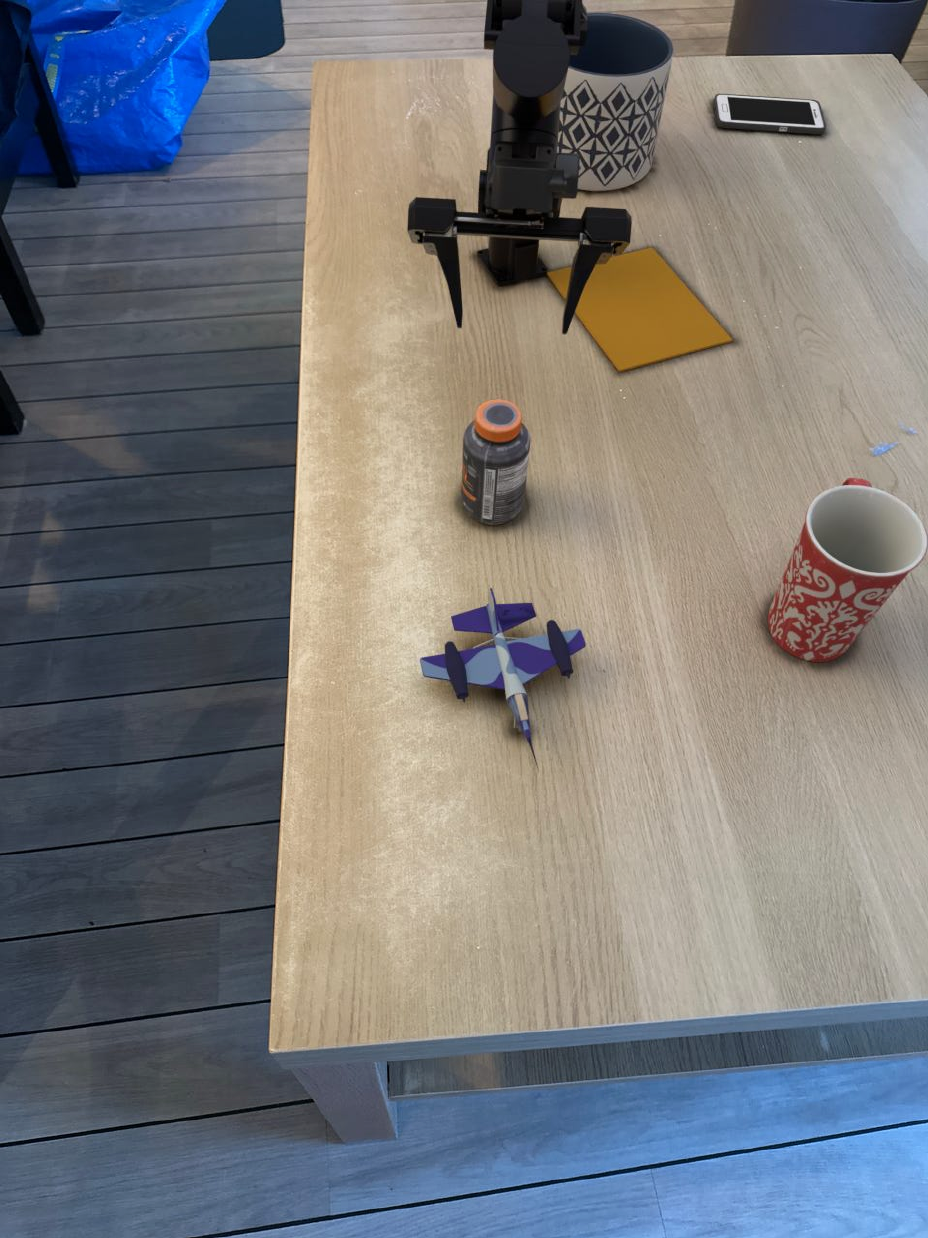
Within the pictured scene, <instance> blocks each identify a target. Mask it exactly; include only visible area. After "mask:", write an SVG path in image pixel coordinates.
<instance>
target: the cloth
mask: <svg viewBox="0 0 928 1238" xmlns="http://www.w3.org/2000/svg"><path fill="white" fill-rule="evenodd" d="M571 269H572V266H568V267H564V268H560V269H556V270H552V271H548V273H547V274H546V275H545V276H546V277H547V278H548V280H550V282H551V283H552V284H553V286H554V288H556V291H558V292H559V294H560V295H561V297H562V298H563V299H564V301H566V296H567V291H568V285H569V280H570V275H571ZM574 315H576V316H577V318H578V320H579V321H580V322H581V323H582V325H583V326H584V327H585V329H586V331H588V332H589V334H590V335H591V337H592V338H593V340H594V341H595V342H596V343H597V345H598V346H599V347H600V349H601V350H602V351H603V353H604V354H605V355H606V357H607V358H608V359H609V361H610V362H611V363H612V364H613V366H614V367H615V369H616V370H617V371H618V372H619V373H622V372H625V371H629V370H632V369H636V368H639V367H644V366H647V365H652V364H656V363H658V362H662V361H666V360H669V359H673V358H676V357H681V356H685V355H688V354H692V353H695V352H699V351H703V350H706V349H709V348H714V347H717V346H720V345H724V344H728V343H731V342H733V338H732V337H731V336H730V335H729V333H728V332H727V331H726V330H725V329H724V328H723V326H721V324H720V323H719V322H718V321H717V320H716V319H715V317H714V316H713V315H712V314H711V313H710V311H708V309H707V308H706V307H705V306H704V305H703V304H702V302H701V301H700V300H699V299H698V298H697V297H696V296H695V294H694V293H693V292H692V291H691V290H690V289H689V287H688V286H687V285H686V284H685V283H684V282H683V280H681V279H680V277H679V276H678V275H677V274H676V273H675V271H674V270H673V269H672V268H671V267H670V266H669V264H668V263H667V262H666V261H665V260H664V259H663V258H662V257H661V255H660V254H659V253H658V252H657V251H656V250H655V248H654V247H648V248H643V249H640V250H635V251H631V252H627V253H622V254H621V255H613V256H611V258H610V259H609V260H608V262H607V263H606V264H596V265H595V267H594V269H593V271H592V273H591V275H590V277H589V279H588V281H587V283H586V285H585V287H584V289H583V292H582V294H581V297H580V300H579V302H578V305H577V308H576V310H575V313H574Z"/></svg>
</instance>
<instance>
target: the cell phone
mask: <svg viewBox="0 0 928 1238" xmlns="http://www.w3.org/2000/svg"><path fill="white" fill-rule="evenodd" d="M713 108H714V111H715V113H714V114H715V116H714V117H715V121H716V125H717V127H719V128H723V129H724V128H725V129H735V130H751V131H767V132H781V133H797V134H811V135H812V134H813V135H821V134H824V133H825V131H826V127H827V124H826V119H825V117H824V113H823V109H822V105H821V103H820V102H819V100H816V99H811V98H793V97H780V96H765V95H750V94H734V93H732V94H731V93H716V94H715V95H714V98H713Z"/></svg>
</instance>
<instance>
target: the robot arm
mask: <svg viewBox="0 0 928 1238" xmlns="http://www.w3.org/2000/svg"><path fill="white" fill-rule="evenodd" d="M587 13H588V11H587V8H586V6H585V5H584V4H583V0H486V9H485V20H484V21H485V22H484V29H483V31H484V33H483V50H488V51H492V89H493V90H492V108H491V123H490V139H489V140H490V142H489V148H488V149H487V154H486V169H479V177H478V192H477V195H478V196H477V199H478V200H477V212H471V211H458V208H457V200H456V198H439V197H421V196H420V197H419V196H415V197H414V199H413V200H411V202H410V203H409V204H408V210H407V228H406V229H407V231H406V232H407V233H408V236H409V238H410V241H411V243H412V244H416V245H423V249H424V252H425V254H426V255H429V256H436V257H437V259H438V262H439V265H440V269H441V270H442V273H443V275H444V278H445V281H446V284H447V288H448V293H449V298H450V301H451V305H452V310H453V314H454V318H455V324H456V328H457V329H463V317H464V308H463V291H462V280H461V265H460V253H459V252H460V251H459V242H458V236H467V237H468V236H470V237H487V238H488V248H483V249H479V250H477V251H476V257H477V259H478V260H479V262H480V263H481V264H482V266H483V267H484V269H485V270H486V272H487V273H488V275H489V276H490V277H491V279H492V280H493V282H494V283H495V284H496V285H497V286H505V285H508V284H509V285H510V284H513V283H517V282H518V283H519V282H523V281H526V280H530V279H535V278H538V277H542V276H547V275H546V274H547V273H548V272H549V269H548V267H547V266H546V264H545V263H544V261H542V259H541V257H540V256H539V252H540V251H539V250H540V240H543V241H558V242H559V241H560V242H575V243H577V247H578V248H577V250H576V252H575V254H574V255H573V258H572V259H573V260H572V263H571V267H572V269H571V275H570V280H569V285H568V291H567V296H566V300H564V301H565V302H564V307H563V312H562V319H561V335H567V334H568V331H569V329H570V327H571V324H572V321H573V318H574V316H575V310H576V308H577V305H578V302H579V300H580V297H581V294H582V292H583V289H584V287H585V285H586V283H587V281H588V279H589V277H590V275H591V273H592V271H593V269H594V267H595V265H596V264H606V263H607V262H608V260H609V259H610V258H611V257H613V256H618V255H622V254H624V253H625V251H626V249H627V248H628V247H629V245H630V244H631V237H632V224H633V220H632V216H631V214H630V213H629V211H628V210H627V209H626V208H619V207H618V208H617V207H599V206H598V207H597V206H585V208H584V210H583V211H582V215H581V216H580V218H579V217H564V216H562V217H561V216H560V215H561V208H562V203H563V200H564V199H568V200H570V199H571V200H575V199H577V195H578V189H577V188H578V178H579V163H580V154H575V153H557V147H558V133H559V119H560V104H561V99H562V96H563V91H564V86H565V82H566V77H567V72H568V67H569V62H570V55H577V54H578V49H579V46H585V45H586V37H587Z"/></svg>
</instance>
